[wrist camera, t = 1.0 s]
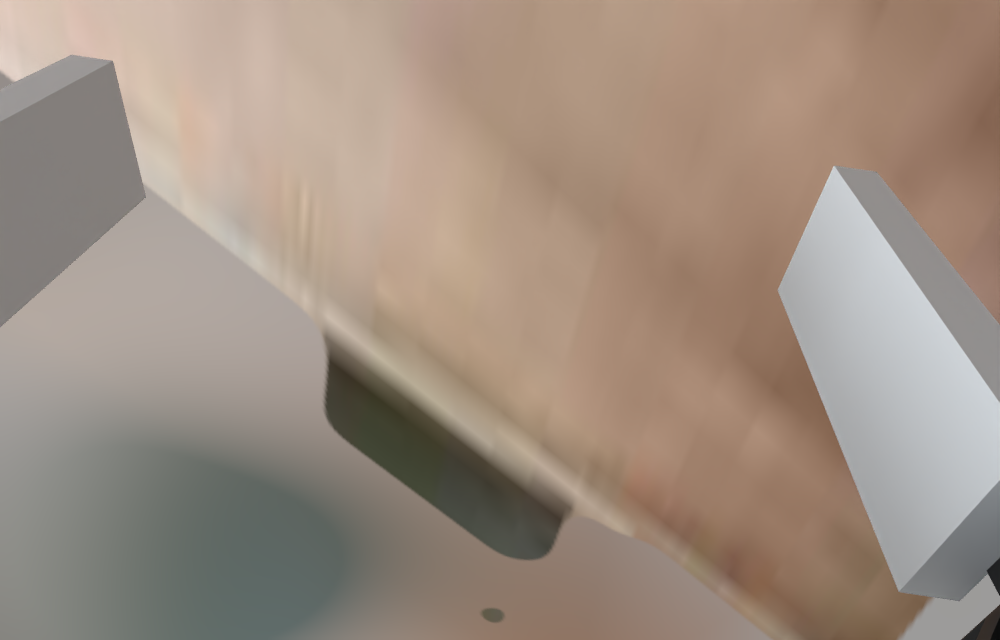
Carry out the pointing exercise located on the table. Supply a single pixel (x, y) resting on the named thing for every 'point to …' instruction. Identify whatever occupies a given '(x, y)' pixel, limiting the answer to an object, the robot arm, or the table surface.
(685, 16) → the table surface
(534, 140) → the table surface
